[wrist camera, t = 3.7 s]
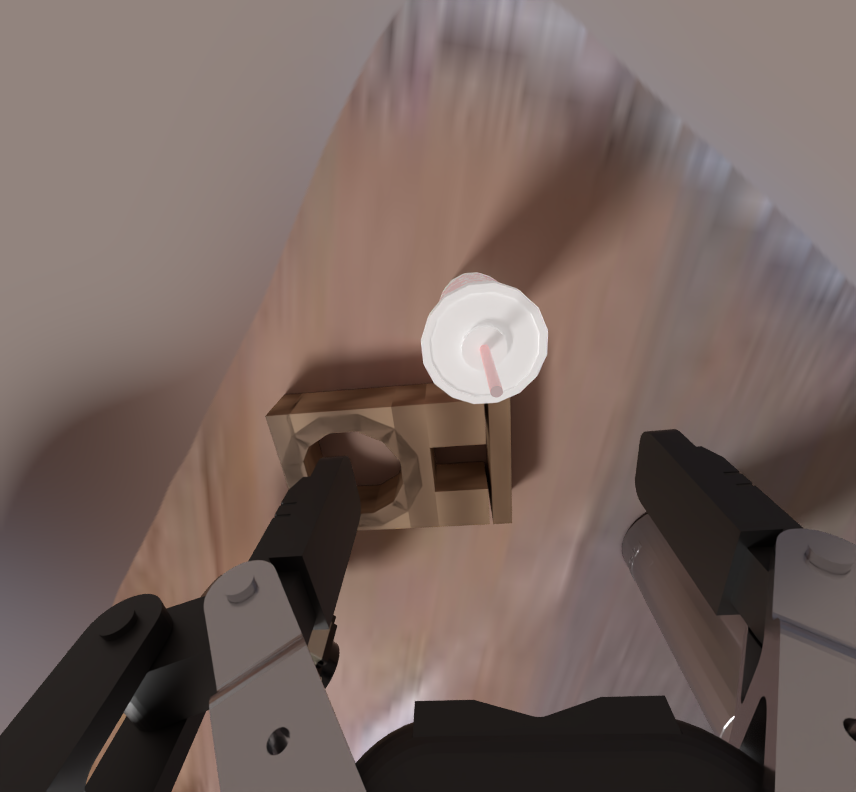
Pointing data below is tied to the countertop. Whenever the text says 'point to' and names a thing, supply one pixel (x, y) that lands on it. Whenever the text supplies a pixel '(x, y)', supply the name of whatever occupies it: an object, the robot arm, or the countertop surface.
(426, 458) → the socket block
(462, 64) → the countertop surface
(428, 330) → the beverage cup
